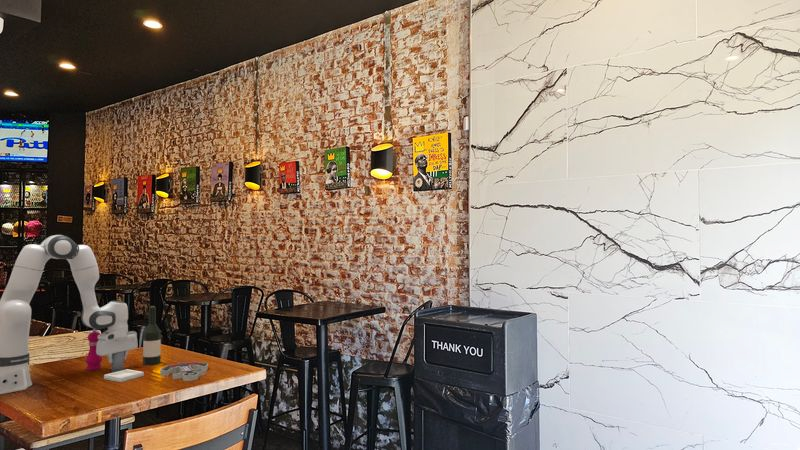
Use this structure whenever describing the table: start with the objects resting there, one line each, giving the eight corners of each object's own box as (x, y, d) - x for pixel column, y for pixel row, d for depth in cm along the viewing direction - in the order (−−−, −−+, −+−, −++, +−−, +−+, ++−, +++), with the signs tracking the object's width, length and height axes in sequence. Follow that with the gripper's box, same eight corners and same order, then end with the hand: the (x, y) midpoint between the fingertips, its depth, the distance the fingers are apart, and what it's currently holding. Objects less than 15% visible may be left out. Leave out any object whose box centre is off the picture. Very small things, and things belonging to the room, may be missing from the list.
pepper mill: (96, 370, 262) (97, 330, 263) (82, 370, 262) (83, 330, 263) (105, 367, 269) (105, 327, 270) (91, 366, 269) (91, 327, 270)
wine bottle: (143, 362, 279) (143, 305, 280) (160, 361, 283) (161, 304, 283) (142, 366, 272) (143, 307, 272) (160, 364, 275) (161, 306, 276)
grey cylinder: (115, 372, 259) (116, 354, 259) (109, 371, 261) (109, 353, 261) (125, 370, 263) (125, 352, 263) (118, 368, 266) (119, 351, 266)
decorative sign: (204, 359, 275) (216, 372, 250) (204, 365, 275) (216, 378, 250) (158, 364, 264) (166, 378, 238) (157, 370, 264) (166, 385, 238)
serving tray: (120, 382, 241) (120, 377, 241) (103, 379, 246) (103, 374, 246) (143, 376, 252) (143, 372, 252) (127, 373, 257) (127, 369, 257)
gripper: (132, 329, 273) (132, 356, 273) (94, 336, 255) (93, 364, 255) (140, 330, 270) (140, 357, 270) (102, 337, 252) (102, 366, 252)
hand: (117, 361), depth 262 cm, fingers closed on grey cylinder, 5 cm apart
